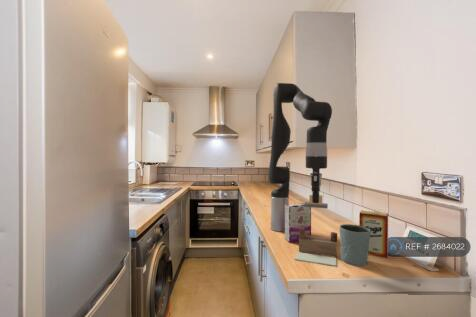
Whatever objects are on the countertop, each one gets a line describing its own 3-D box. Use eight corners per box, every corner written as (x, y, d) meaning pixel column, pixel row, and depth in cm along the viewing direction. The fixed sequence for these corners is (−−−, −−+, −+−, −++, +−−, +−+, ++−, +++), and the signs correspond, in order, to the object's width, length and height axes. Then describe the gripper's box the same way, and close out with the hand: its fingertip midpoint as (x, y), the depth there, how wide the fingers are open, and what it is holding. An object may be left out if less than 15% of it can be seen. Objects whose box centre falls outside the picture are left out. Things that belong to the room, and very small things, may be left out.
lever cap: (305, 204, 90) (305, 194, 90) (327, 206, 87) (327, 195, 87) (304, 206, 86) (304, 195, 86) (327, 208, 83) (327, 197, 83)
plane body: (300, 246, 99) (300, 225, 99) (336, 251, 94) (336, 228, 94) (298, 251, 93) (299, 228, 93) (337, 257, 88) (337, 233, 88)
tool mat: (296, 253, 92) (296, 251, 92) (335, 258, 87) (335, 257, 87) (294, 259, 85) (294, 258, 85) (336, 266, 80) (336, 265, 80)
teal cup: (343, 253, 92) (343, 222, 92) (372, 260, 86) (373, 227, 86) (335, 261, 84) (335, 228, 84) (367, 270, 78) (367, 233, 78)
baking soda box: (359, 252, 94) (359, 211, 94) (361, 247, 99) (361, 209, 99) (387, 257, 88) (387, 215, 89) (388, 252, 94) (388, 212, 94)
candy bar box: (305, 237, 111) (305, 202, 111) (311, 241, 106) (311, 204, 106) (284, 239, 108) (284, 203, 108) (289, 242, 103) (289, 205, 103)
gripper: (307, 156, 95) (306, 198, 94) (304, 154, 81) (303, 204, 81) (327, 156, 92) (326, 200, 92) (327, 154, 79) (326, 206, 78)
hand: (315, 201), depth 86 cm, fingers closed on lever cap, 3 cm apart
